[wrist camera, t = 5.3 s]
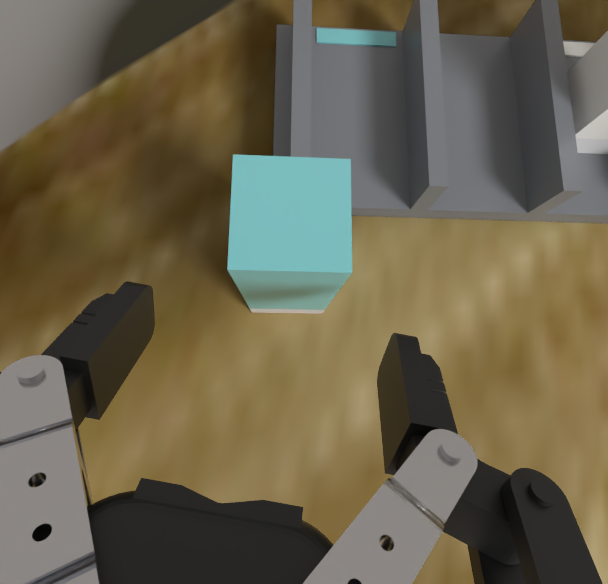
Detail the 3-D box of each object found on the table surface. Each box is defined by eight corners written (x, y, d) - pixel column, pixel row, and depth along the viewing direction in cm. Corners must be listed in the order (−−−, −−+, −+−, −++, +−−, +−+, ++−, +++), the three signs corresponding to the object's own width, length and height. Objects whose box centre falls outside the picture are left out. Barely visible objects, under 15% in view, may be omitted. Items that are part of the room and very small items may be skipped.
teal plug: (322, 246, 23) (351, 159, 13) (321, 313, 22) (352, 272, 13) (254, 244, 23) (233, 154, 13) (251, 312, 22) (227, 269, 12)
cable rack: (627, 58, 27) (690, 2, 23) (655, 224, 25) (729, 196, 20) (276, 40, 26) (275, -23, 22) (272, 213, 23) (269, 180, 19)
